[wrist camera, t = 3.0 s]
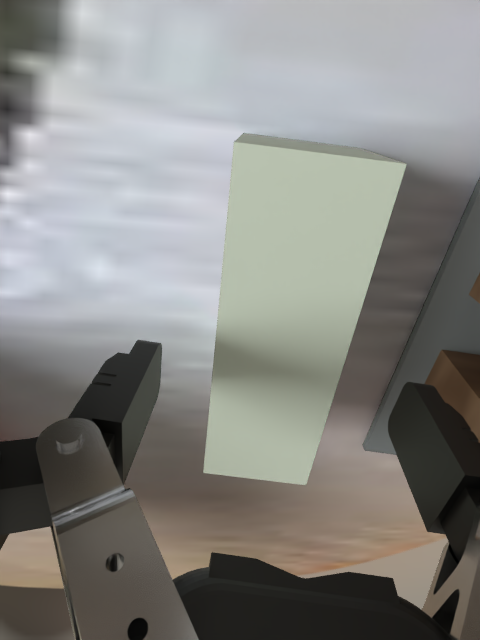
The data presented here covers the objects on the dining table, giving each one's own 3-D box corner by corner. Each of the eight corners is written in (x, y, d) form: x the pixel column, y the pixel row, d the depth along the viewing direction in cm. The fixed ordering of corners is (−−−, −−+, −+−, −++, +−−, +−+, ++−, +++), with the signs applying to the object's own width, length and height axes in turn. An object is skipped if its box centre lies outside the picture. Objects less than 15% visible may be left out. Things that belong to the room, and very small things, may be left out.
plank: (243, 132, 14) (233, 141, 9) (358, 147, 14) (407, 164, 9) (217, 389, 21) (203, 473, 16) (295, 399, 21) (306, 485, 16)
